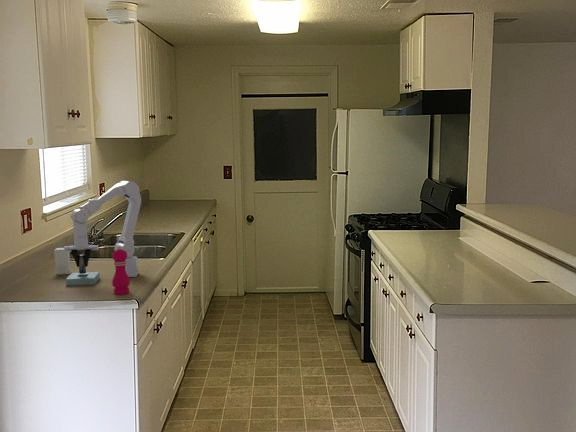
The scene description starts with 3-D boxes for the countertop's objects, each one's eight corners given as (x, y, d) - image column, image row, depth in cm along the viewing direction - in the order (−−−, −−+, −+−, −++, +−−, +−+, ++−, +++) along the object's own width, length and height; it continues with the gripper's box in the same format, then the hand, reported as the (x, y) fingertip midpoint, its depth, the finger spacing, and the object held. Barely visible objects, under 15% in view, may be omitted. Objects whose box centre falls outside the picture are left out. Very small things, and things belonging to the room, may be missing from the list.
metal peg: (86, 271, 282) (85, 254, 281) (85, 273, 279) (84, 255, 278) (79, 272, 281) (78, 254, 280) (78, 273, 278) (77, 256, 277)
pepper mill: (130, 294, 260) (128, 246, 257) (112, 295, 258) (110, 248, 255) (130, 290, 267) (128, 243, 264) (112, 291, 265) (110, 244, 262)
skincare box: (71, 272, 300) (69, 247, 298) (68, 274, 295) (67, 249, 294) (57, 272, 299) (56, 247, 297) (55, 274, 295) (53, 249, 293)
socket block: (99, 278, 287) (99, 271, 287) (94, 284, 276) (94, 278, 275) (72, 279, 286) (72, 272, 286) (66, 285, 274) (65, 279, 274)
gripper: (61, 238, 273) (63, 268, 275) (95, 237, 275) (97, 267, 277) (65, 235, 280) (67, 265, 282) (98, 234, 282) (100, 264, 284)
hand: (82, 266), depth 280 cm, fingers closed on metal peg, 3 cm apart
